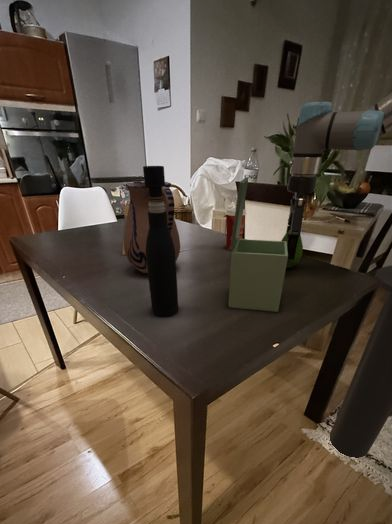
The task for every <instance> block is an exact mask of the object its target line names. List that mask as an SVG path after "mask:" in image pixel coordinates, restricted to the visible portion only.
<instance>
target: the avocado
mask: <svg viewBox="0 0 392 524" xmlns="http://www.w3.org/2000/svg"><path fill="white" fill-rule="evenodd" d="M287 234H290V230H289V231H288V232H287V233H286V232H285V234H284V235H283V237H282V239H281V240H280V241H286V242H287V243H288V238H289V237H287ZM303 250H304V246H303V239H302V235H300V236H299V237H298V242H297V247H296V252H295V257H294V260H290V259H287V265H286V269H291V268H293V267H295V266H296V265H297V264H298V263H299V262H300V260H301V259H302V256H303V253H304V252H303Z"/></svg>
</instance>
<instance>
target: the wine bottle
mask: <svg viewBox="0 0 392 524" xmlns="http://www.w3.org/2000/svg"><path fill="white" fill-rule="evenodd" d="M142 172H143V181H144V182H143V183H145V187H149V198H150V199H152V200H158V199H162V198H163V196H162V187H164V186H165V182H166V179H165V177H166V176H165V166H164V165H144V166H142ZM164 205H165V204H164V201H149V204H148V206H149V210H150V211H149V212H148V219H149V230H148V235H147V240H146V260H147V268H148V273H147V275H148V276H147V277H148V286H149V295H150V303H151V304H150V305H151V312H152V314H153V315H155V316H156V317H161V318H167V317H173V316H174V315H176V314H177V313H178V312H179V297H178V277H177V260H176V256H175V248H174V244H173V240H172V237H171V234H170V231H169V229H168V226H167V212H166V211H165V207H164Z"/></svg>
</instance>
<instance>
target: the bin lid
mask: <svg viewBox="0 0 392 524" xmlns="http://www.w3.org/2000/svg"><path fill="white" fill-rule="evenodd" d="M248 183H249V177H244V178H243V179H242V180H241V181H240V182H239V185H238V191H237V198H236V205H235V208H236V212H235V219H234V226H233V233H232V239H231V246H230V250H229V251H232V250H234V248H235V246H236V243H237V241H238V239H239V235H240V229H241V222H242V216H243V210H245V202H246V196H247V189H248Z"/></svg>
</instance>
